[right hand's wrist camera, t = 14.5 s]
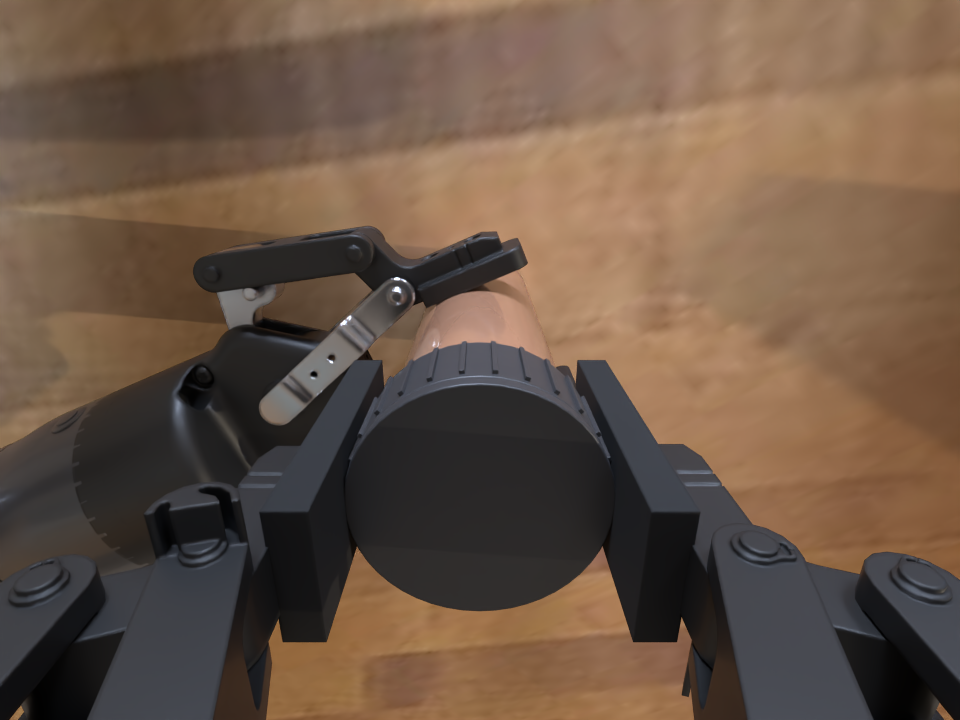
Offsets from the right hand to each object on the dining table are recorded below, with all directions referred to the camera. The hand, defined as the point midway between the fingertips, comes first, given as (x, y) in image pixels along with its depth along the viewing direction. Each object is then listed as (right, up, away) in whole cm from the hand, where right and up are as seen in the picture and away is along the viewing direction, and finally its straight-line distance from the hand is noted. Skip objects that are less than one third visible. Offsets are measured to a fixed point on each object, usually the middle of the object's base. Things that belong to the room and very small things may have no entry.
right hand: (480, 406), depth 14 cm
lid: (0, -1, -4) cm, 4 cm away
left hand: (+2, +3, +4) cm, 6 cm away
